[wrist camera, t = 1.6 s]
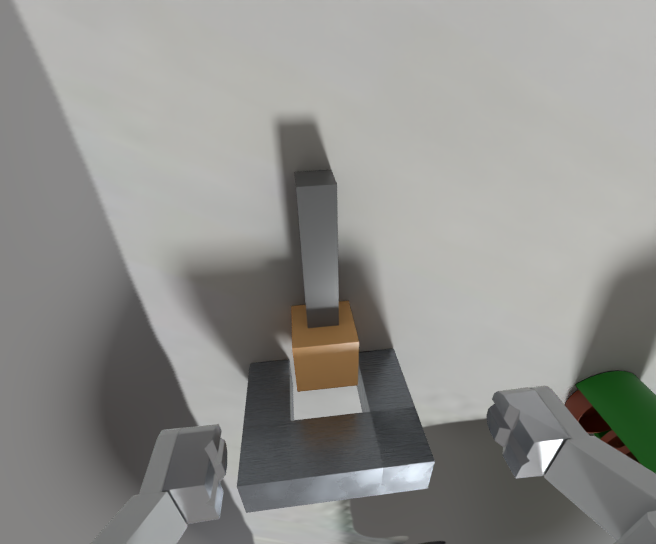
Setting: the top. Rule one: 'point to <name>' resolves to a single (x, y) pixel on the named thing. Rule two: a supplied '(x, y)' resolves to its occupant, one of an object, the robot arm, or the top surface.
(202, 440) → the robot arm
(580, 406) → the motor
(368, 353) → the grey u-shaped block
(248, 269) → the top surface
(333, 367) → the plug
